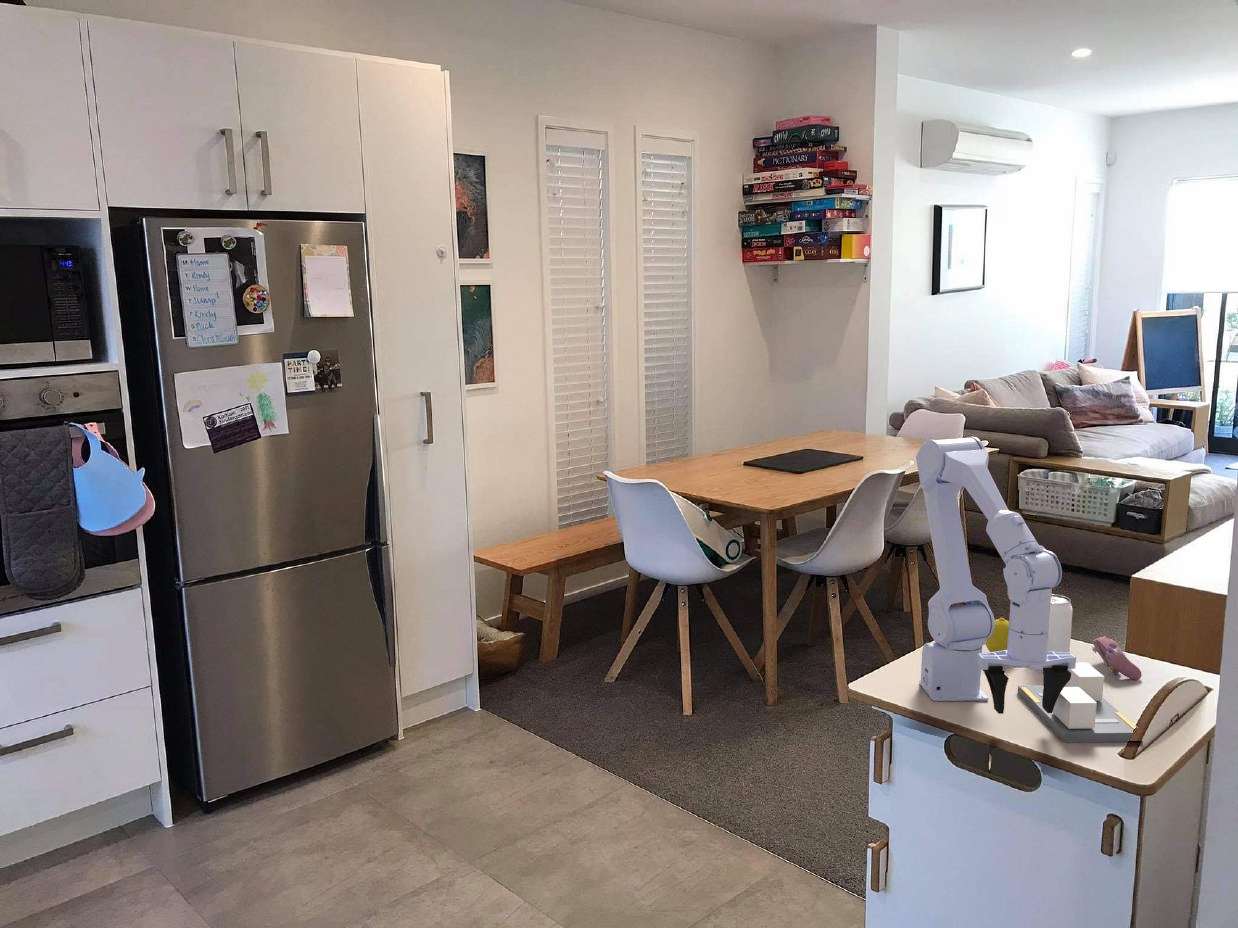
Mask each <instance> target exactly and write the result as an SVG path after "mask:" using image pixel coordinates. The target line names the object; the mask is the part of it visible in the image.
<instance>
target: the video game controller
mask: <svg viewBox="0 0 1238 928" xmlns="http://www.w3.org/2000/svg"><path fill="white" fill-rule="evenodd" d="M1092 644H1093V646H1092V647H1091V648H1092V649H1091V650H1092V651H1093V653H1095V654H1098V655H1099V656H1100V658H1101V659H1102V660H1103V663H1104V665H1105V666H1106V667H1107V668H1108V670H1109V671H1111V672H1112V673H1113V674H1114V675H1117V674H1119V673H1120V674H1122V675H1123V676H1124V677H1126V678H1128V679H1130V680H1134V681H1138V680H1140V679H1141V678H1142V674H1143V673H1142V670H1141V669H1140V668H1139V667H1138V666H1137V665H1136V664H1134V663H1133V662H1132V661H1130V659H1128V657H1127V656H1126V654H1125V653H1124V651H1123V650H1122V649H1121V648H1120V645H1119V643H1118V642H1117V641H1116V640H1113V639H1111V638H1109V637H1106V635H1104V636H1103V637H1101V636H1099V637H1097V638H1095V639H1092Z"/></svg>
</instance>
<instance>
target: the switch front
mask: <svg viewBox="0 0 1238 928" xmlns="http://www.w3.org/2000/svg"><path fill="white" fill-rule="evenodd" d="M1096 706H1097V703H1096V702H1095V701H1094V700H1093V699H1092V698H1091V697H1090V696H1088V695H1087V694H1086V693H1085V692H1084V691H1083V690H1082V689H1081V688H1079V687H1064V688H1063V689H1062V691H1061V693H1060V694H1059V696H1058V699H1057V701H1056V703H1055V706H1054V709H1053V713H1054V714H1055V715H1056V716H1057V717H1058V718H1059V719H1060V720H1061V721H1062V722H1063V723H1064V724H1065V725H1066V726H1067V727H1068V728H1069V729H1076V728H1095V718H1096Z"/></svg>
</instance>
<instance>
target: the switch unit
mask: <svg viewBox="0 0 1238 928" xmlns="http://www.w3.org/2000/svg"><path fill="white" fill-rule="evenodd" d="M1043 687H1044V684H1043V685H1042V684H1041V685H1017V695H1018V696H1019V697H1020V698H1021V699H1022V700H1023V701H1024V702H1025V703H1026V704H1027V706H1028V707H1029V708H1030V709H1031V710H1032V711H1033V712H1034V713H1035V714H1036V715H1037V716H1038V717H1039V718H1040V719H1041V720H1042V721H1043V722H1044V723H1045V724H1046V726H1048V728H1050V729H1051V730H1052V732H1054V733H1055V735H1056V736H1057V737H1058V738H1060V740H1061V741H1062V742H1063V743H1129V742H1128V740H1129V739H1130V737H1131V735H1132V733H1133V729H1135V728H1136V727H1137V725H1135V724H1134V723H1133V722H1132V721H1130V720H1129V719H1128V718H1127V717H1126V716H1125V715H1123V713H1121V712H1120V711H1119V710H1117V708H1115V706H1113V705H1112V704H1111V703H1110V702H1108V701H1107V700H1106V698H1104V697H1103V696H1102V701H1095V702H1096V703H1097V706H1096V718H1095V728H1076V729H1069V728H1068V727H1067V726H1066V725H1065V724H1064V723H1063V722H1062V721H1061V720H1060V719H1059V718H1058V717H1057V716H1056V715H1055V714H1054V713H1053V712H1052V713H1047V712H1046V711H1045V710H1044V709H1043V707H1042V698H1043Z"/></svg>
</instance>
